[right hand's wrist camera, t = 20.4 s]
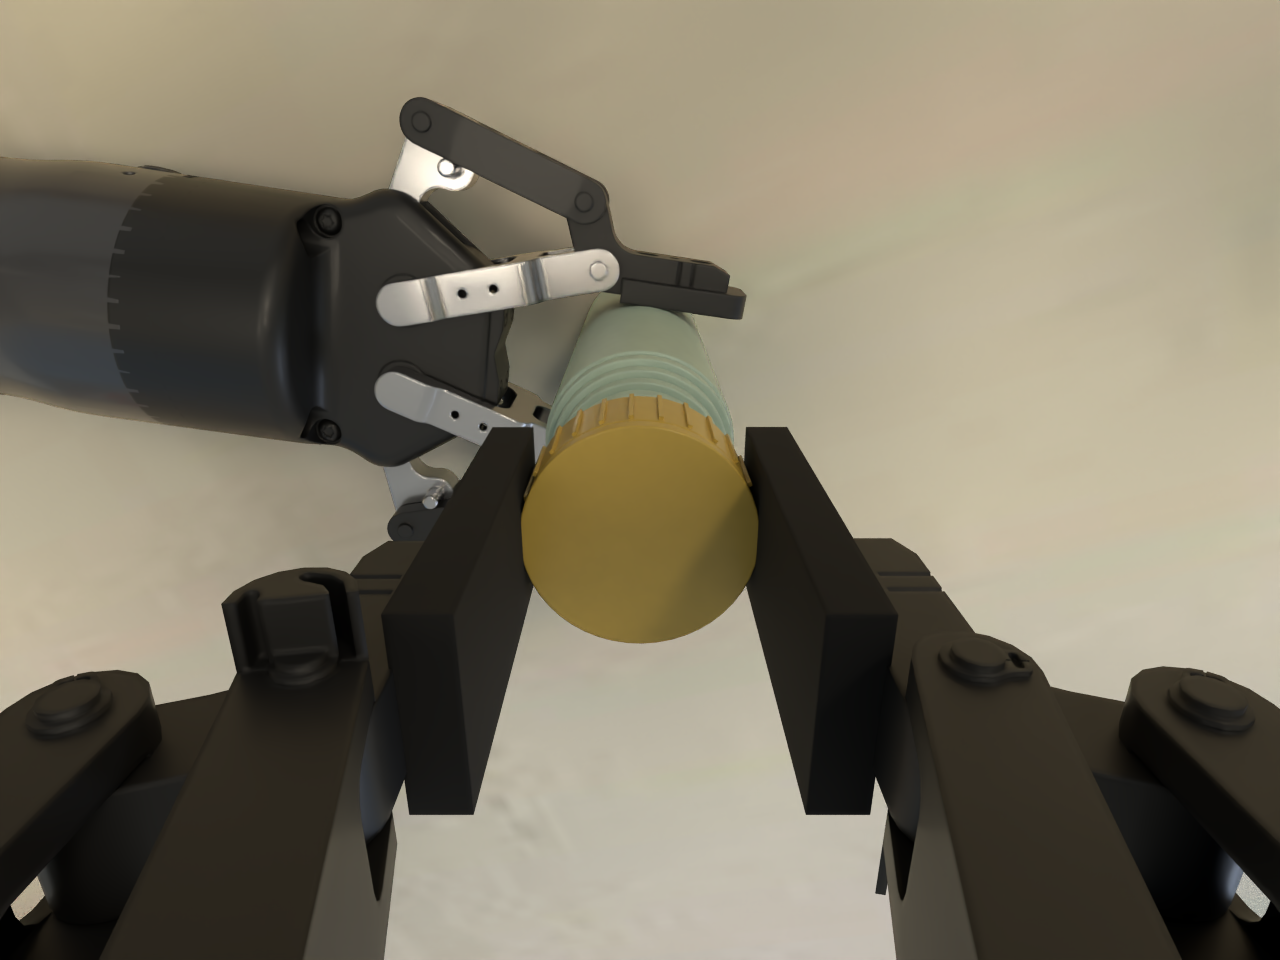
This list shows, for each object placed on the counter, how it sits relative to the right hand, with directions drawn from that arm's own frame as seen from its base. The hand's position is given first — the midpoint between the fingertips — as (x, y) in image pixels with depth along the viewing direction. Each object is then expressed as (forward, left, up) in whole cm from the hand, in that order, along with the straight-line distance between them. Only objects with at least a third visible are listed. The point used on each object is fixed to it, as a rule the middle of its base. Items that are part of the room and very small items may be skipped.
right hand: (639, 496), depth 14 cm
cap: (0, 0, +2) cm, 2 cm away
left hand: (-1, +2, -10) cm, 11 cm away
